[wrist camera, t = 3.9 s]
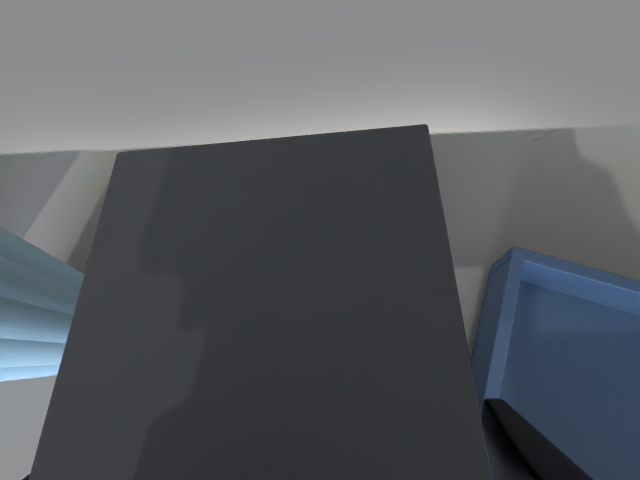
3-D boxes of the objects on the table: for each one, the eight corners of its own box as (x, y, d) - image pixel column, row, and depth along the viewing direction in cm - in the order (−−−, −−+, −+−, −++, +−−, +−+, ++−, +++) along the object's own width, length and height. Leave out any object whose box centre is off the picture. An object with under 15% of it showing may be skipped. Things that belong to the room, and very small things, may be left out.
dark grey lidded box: (396, 439, 16) (525, 657, 3) (275, 439, 17) (-14, 624, 4) (382, 294, 19) (425, 107, 6) (279, 298, 19) (119, 136, 7)
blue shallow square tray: (787, 683, 12) (916, 774, 9) (437, 515, 15) (454, 545, 12) (762, 345, 16) (846, 337, 13) (490, 265, 19) (512, 245, 16)
